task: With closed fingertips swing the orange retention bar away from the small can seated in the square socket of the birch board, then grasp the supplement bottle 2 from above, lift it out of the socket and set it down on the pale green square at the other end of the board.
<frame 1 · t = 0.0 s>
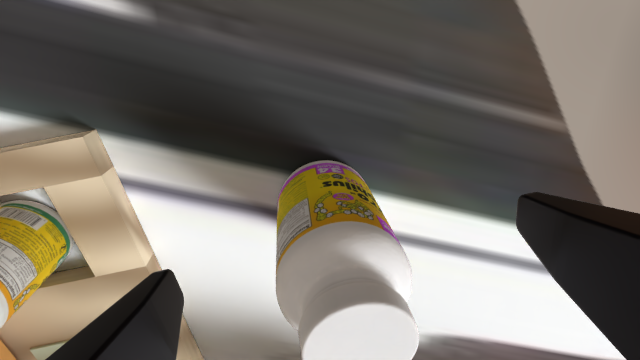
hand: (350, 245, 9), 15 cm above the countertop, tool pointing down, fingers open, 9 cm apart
supplement bottle: (322, 197, 25), on the countertop
supplement bottle 2: (35, 230, 23), resting in socket board
socket board: (68, 287, 25), on the countertop
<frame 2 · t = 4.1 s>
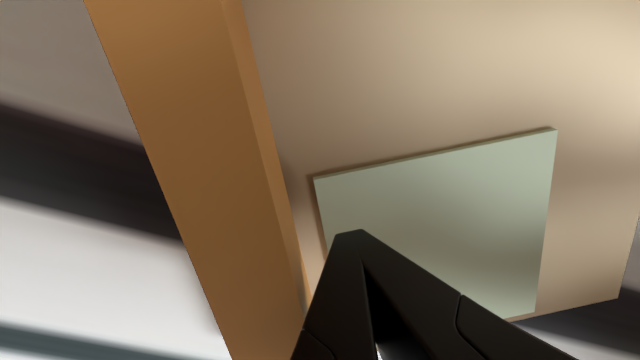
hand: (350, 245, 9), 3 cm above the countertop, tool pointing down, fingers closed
socket board: (406, 18, 9), on the countertop
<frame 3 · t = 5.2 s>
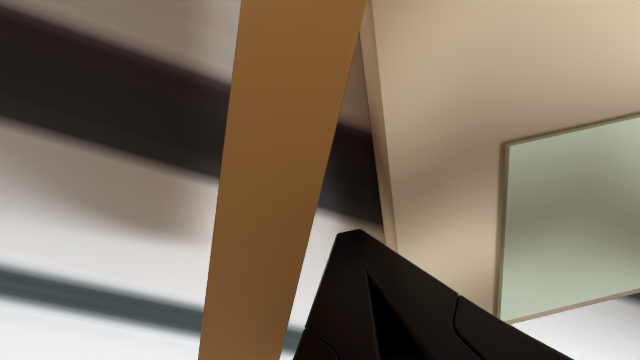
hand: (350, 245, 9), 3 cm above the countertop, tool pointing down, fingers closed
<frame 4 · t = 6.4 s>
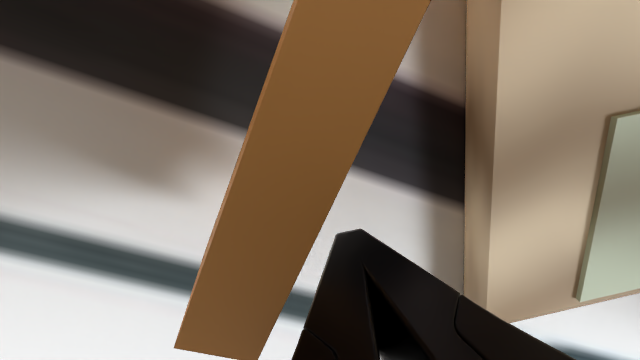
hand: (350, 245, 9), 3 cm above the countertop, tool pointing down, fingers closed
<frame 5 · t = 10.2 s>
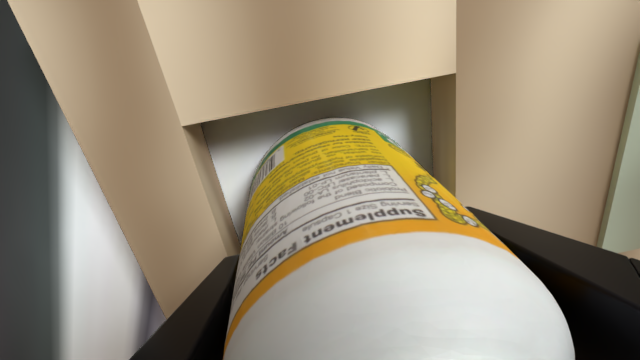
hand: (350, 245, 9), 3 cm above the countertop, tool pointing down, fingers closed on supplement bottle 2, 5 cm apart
supplement bottle 2: (331, 190, 11), resting in socket board, touching gripper
socket board: (475, 164, 11), on the countertop
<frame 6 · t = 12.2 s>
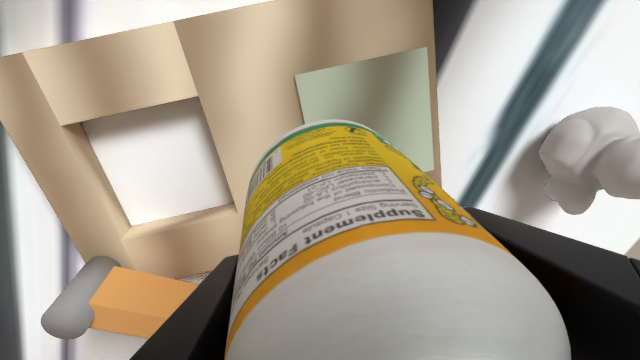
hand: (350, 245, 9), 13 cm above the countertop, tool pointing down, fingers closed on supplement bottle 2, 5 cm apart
supplement bottle 2: (328, 192, 12), point 9 cm above the countertop, touching gripper
socket board: (248, 144, 20), on the countertop
rubber duck: (555, 148, 23), on the countertop
clip bar: (240, 324, 20), point 4 cm above the countertop, hinge at 33.2°
when the fingers open (5 cm above the countertop, at t = 14.3 s): supplement bottle 2 stays where it is, resting on socket board.
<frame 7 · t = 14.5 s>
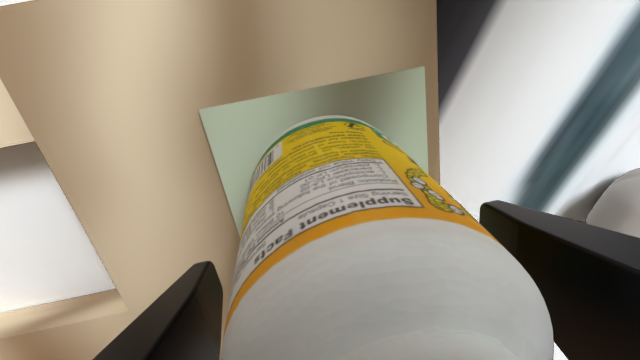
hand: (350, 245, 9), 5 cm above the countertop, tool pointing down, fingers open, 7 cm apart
supplement bottle 2: (328, 186, 12), point 2 cm above the countertop, touching socket board
socket board: (148, 206, 13), on the countertop
rubber duck: (606, 209, 16), on the countertop
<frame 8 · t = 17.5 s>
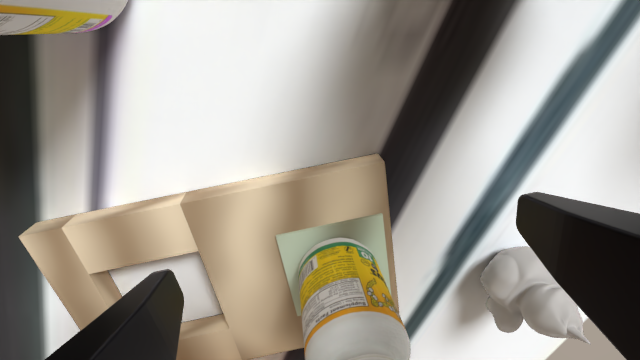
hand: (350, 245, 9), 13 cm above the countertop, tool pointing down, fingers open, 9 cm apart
supplement bottle 2: (336, 266, 23), point 2 cm above the countertop, touching socket board
socket board: (239, 272, 24), on the countertop
rubber duck: (498, 266, 27), on the countertop
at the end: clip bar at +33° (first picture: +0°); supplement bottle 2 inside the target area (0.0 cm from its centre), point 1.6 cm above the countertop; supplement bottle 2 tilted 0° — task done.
